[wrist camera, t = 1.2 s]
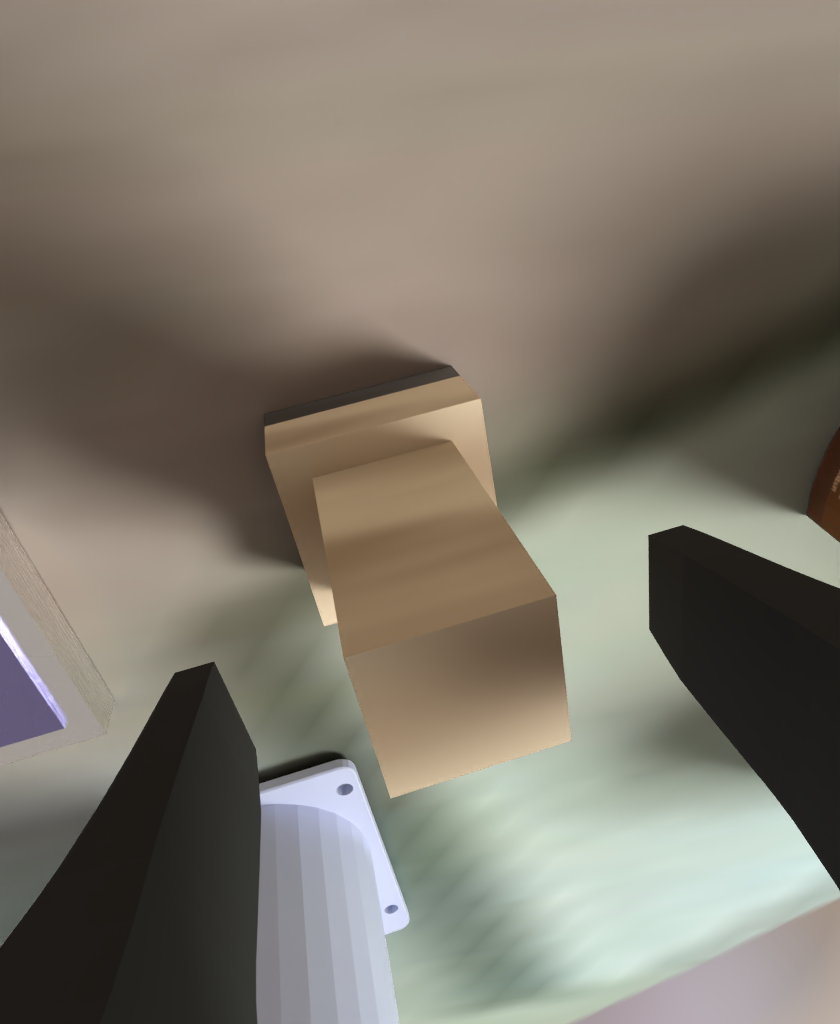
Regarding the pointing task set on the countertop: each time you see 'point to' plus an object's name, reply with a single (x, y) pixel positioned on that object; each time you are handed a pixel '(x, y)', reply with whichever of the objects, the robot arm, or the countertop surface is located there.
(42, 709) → the ink pad
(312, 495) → the stamp
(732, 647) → the robot arm
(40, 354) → the countertop surface
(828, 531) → the food container
